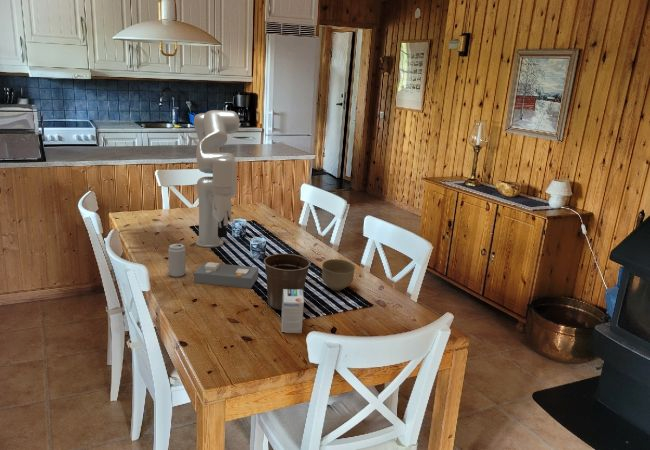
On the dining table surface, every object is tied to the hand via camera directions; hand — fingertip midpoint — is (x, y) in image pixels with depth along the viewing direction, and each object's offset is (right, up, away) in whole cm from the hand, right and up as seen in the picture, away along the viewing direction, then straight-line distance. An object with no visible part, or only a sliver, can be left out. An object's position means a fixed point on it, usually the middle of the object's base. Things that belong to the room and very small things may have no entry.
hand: (222, 236), depth 201 cm
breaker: (-5, -14, +4) cm, 15 cm away
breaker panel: (+1, -17, +4) cm, 17 cm away
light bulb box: (+28, -29, -29) cm, 49 cm away
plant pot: (+25, -24, -13) cm, 37 cm away
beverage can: (-19, -15, +6) cm, 25 cm away
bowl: (+44, -20, +3) cm, 48 cm away
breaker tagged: (+7, -16, +4) cm, 18 cm away
